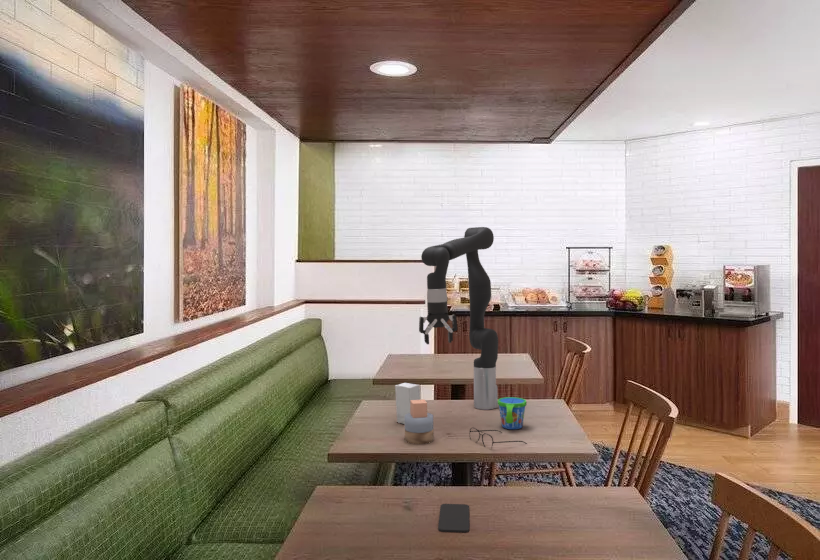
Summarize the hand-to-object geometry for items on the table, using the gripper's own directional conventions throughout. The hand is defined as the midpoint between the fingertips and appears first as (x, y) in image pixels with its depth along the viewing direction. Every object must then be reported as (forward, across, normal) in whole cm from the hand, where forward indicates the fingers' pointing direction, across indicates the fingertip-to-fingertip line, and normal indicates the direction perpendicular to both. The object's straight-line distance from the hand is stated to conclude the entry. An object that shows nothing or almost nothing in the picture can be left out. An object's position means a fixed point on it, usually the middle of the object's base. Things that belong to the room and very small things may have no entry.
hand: (438, 343), depth 227 cm
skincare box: (+31, +12, -4) cm, 33 cm away
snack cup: (+32, -25, +10) cm, 41 cm away
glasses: (+32, -14, +24) cm, 43 cm away
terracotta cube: (+22, +12, +17) cm, 30 cm away
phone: (+30, +14, +80) cm, 87 cm away
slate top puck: (+26, +12, +17) cm, 34 cm away
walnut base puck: (+31, +12, +17) cm, 37 cm away
